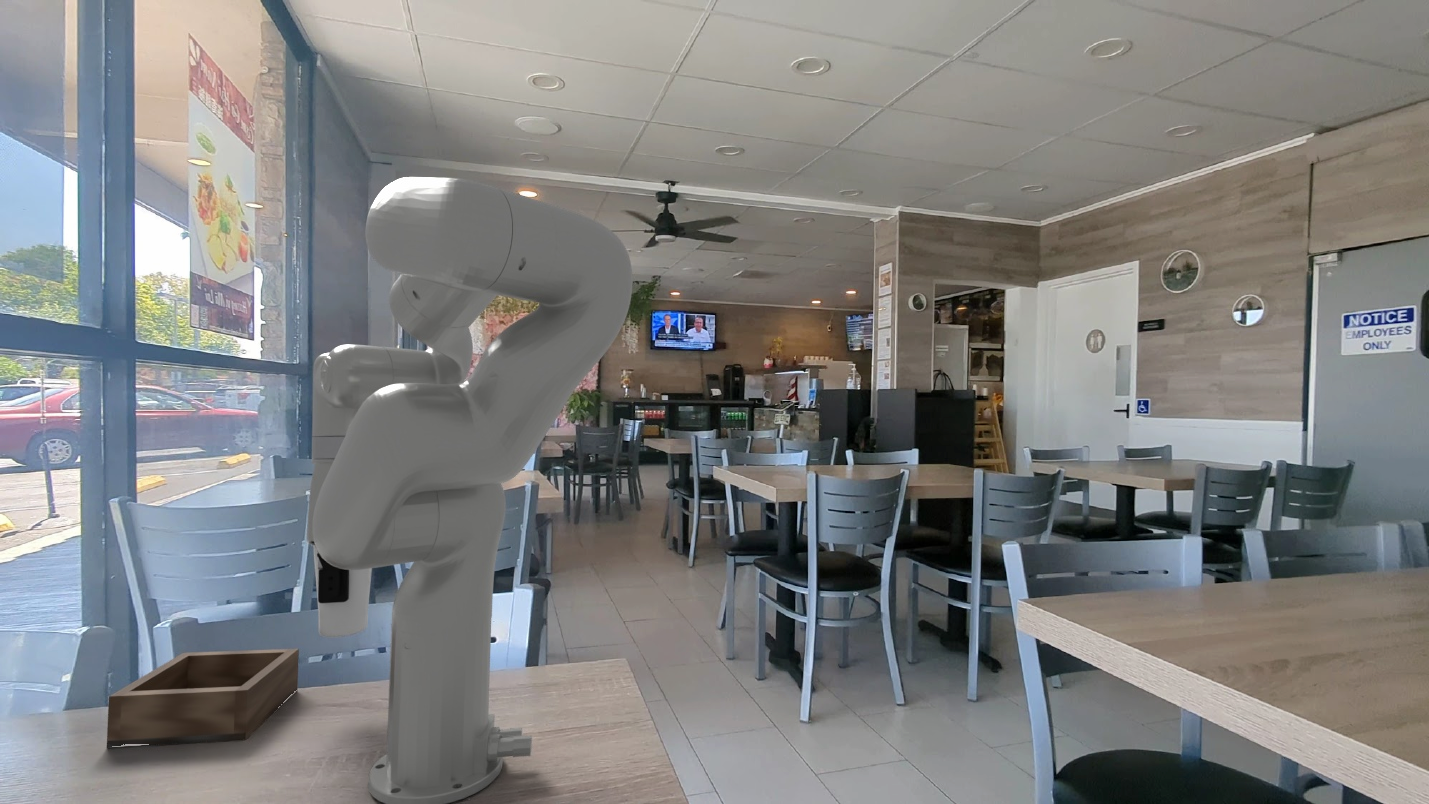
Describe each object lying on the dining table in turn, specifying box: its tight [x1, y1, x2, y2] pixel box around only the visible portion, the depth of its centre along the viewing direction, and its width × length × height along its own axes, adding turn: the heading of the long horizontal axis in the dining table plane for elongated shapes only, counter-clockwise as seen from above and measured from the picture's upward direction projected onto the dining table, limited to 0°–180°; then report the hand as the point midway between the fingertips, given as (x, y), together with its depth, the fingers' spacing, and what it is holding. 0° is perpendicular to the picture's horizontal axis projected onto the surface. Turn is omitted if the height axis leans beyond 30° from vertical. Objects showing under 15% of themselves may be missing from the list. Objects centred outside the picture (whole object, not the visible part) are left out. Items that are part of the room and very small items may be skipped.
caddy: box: [106, 648, 300, 749], centre depth 80 cm, size 13×13×6 cm
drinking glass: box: [312, 545, 373, 638], centre depth 84 cm, size 7×7×15 cm
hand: (343, 594), depth 84 cm, fingers closed on drinking glass, 6 cm apart
